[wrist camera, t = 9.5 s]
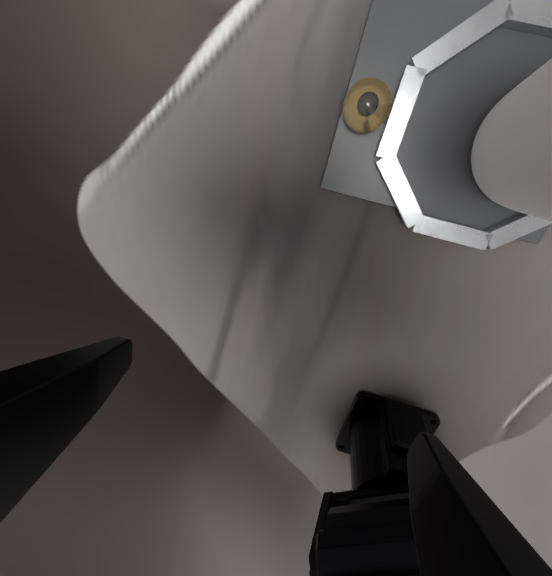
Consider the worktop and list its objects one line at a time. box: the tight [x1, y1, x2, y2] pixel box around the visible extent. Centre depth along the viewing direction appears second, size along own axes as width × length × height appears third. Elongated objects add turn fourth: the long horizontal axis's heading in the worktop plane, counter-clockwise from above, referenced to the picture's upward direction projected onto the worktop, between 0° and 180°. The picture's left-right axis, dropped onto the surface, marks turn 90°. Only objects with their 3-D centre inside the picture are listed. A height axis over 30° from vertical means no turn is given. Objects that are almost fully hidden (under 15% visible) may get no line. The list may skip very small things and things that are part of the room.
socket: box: [375, 0, 552, 251], centre depth 15 cm, size 11×11×1 cm
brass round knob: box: [343, 78, 392, 134], centre depth 16 cm, size 2×2×2 cm
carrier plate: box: [321, 0, 552, 244], centre depth 16 cm, size 10×13×1 cm
